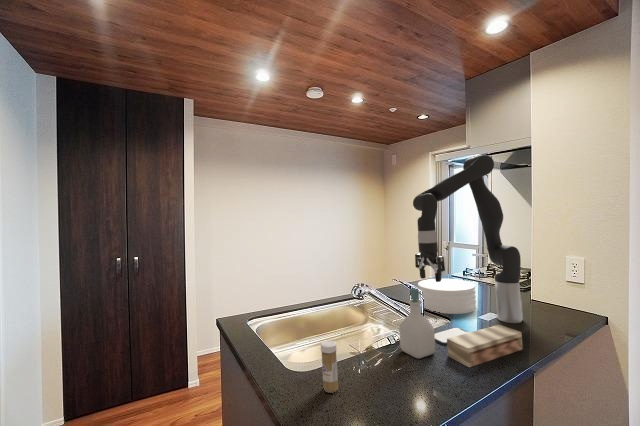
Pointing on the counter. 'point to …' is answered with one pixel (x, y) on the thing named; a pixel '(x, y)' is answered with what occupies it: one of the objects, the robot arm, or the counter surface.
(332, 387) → the sprinkles bottle
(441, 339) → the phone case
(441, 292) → the plate stack
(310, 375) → the counter surface
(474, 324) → the counter surface
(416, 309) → the soap bottle
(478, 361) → the low box
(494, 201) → the robot arm
